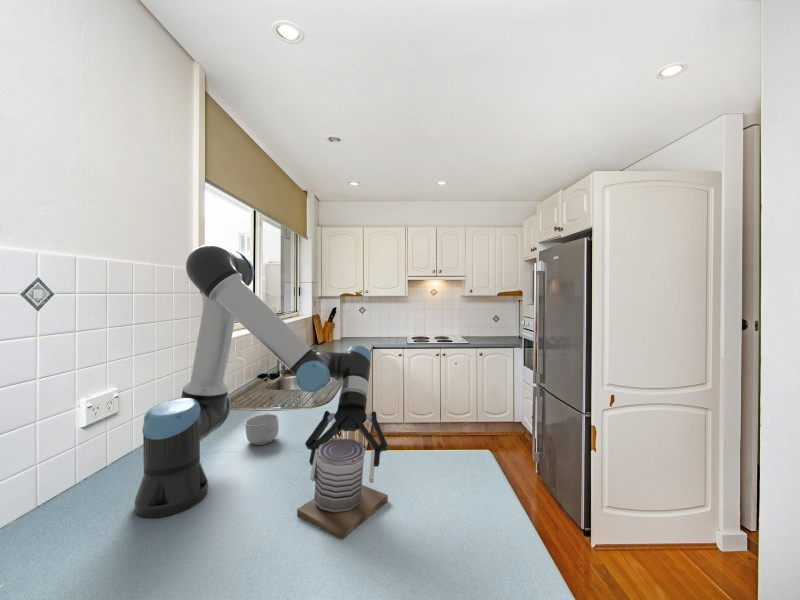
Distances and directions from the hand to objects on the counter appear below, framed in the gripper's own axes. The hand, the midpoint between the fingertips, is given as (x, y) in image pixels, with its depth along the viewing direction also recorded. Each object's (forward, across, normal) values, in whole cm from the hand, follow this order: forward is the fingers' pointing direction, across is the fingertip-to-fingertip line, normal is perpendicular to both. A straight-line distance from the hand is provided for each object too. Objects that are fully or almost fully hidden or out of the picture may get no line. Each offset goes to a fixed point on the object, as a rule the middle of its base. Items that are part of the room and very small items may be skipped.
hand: (341, 480), depth 78 cm
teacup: (-23, +36, -34) cm, 55 cm away
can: (+2, +2, -6) cm, 7 cm away
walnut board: (+4, 0, -7) cm, 8 cm away
